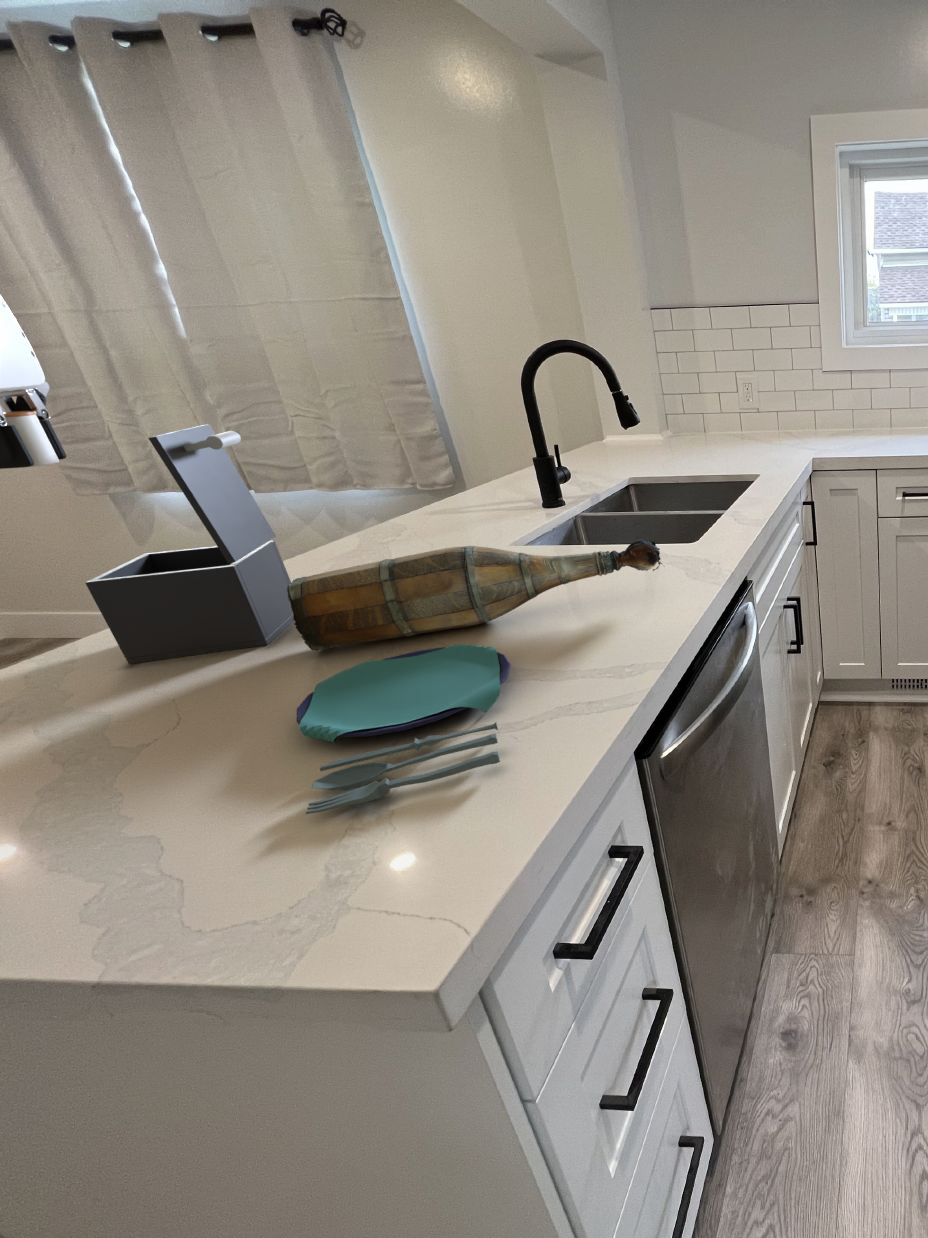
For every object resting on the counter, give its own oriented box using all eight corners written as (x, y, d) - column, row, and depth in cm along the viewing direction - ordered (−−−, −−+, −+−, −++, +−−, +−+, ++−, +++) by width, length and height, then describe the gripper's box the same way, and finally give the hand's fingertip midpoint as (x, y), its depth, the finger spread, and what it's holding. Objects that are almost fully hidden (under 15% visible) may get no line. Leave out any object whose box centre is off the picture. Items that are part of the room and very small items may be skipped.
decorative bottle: (286, 648, 81) (673, 582, 96) (269, 561, 82) (657, 510, 97) (324, 658, 91) (669, 597, 107) (309, 580, 92) (654, 531, 107)
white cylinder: (-10, 470, 70) (-39, 416, 68) (21, 463, 73) (-6, 412, 71) (43, 466, 71) (16, 413, 69) (71, 460, 75) (46, 409, 72)
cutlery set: (510, 647, 87) (505, 630, 86) (526, 766, 63) (520, 744, 62) (320, 685, 79) (313, 667, 78) (254, 838, 55) (242, 815, 54)
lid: (147, 437, 78) (195, 428, 79) (202, 425, 89) (244, 416, 90) (228, 563, 85) (271, 553, 86) (270, 537, 96) (308, 528, 97)
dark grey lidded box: (128, 664, 86) (84, 582, 82) (180, 627, 97) (144, 553, 92) (267, 645, 90) (233, 566, 86) (303, 611, 101) (274, 540, 97)
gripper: (-52, 271, 71) (43, 454, 78) (-224, 255, 56) (-87, 482, 64) (41, 270, 73) (124, 449, 80) (-101, 254, 58) (17, 474, 66)
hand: (30, 461), depth 72 cm, fingers closed on white cylinder, 4 cm apart
